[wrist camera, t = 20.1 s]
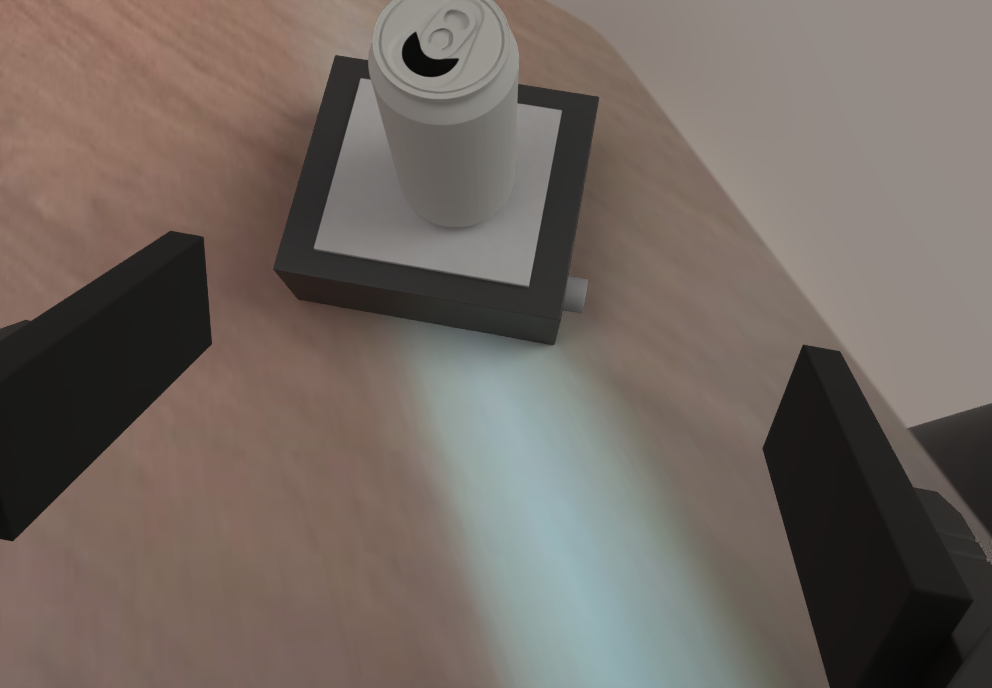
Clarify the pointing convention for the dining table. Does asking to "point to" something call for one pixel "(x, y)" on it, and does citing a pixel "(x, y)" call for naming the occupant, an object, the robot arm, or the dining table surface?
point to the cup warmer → (425, 245)
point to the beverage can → (448, 105)
